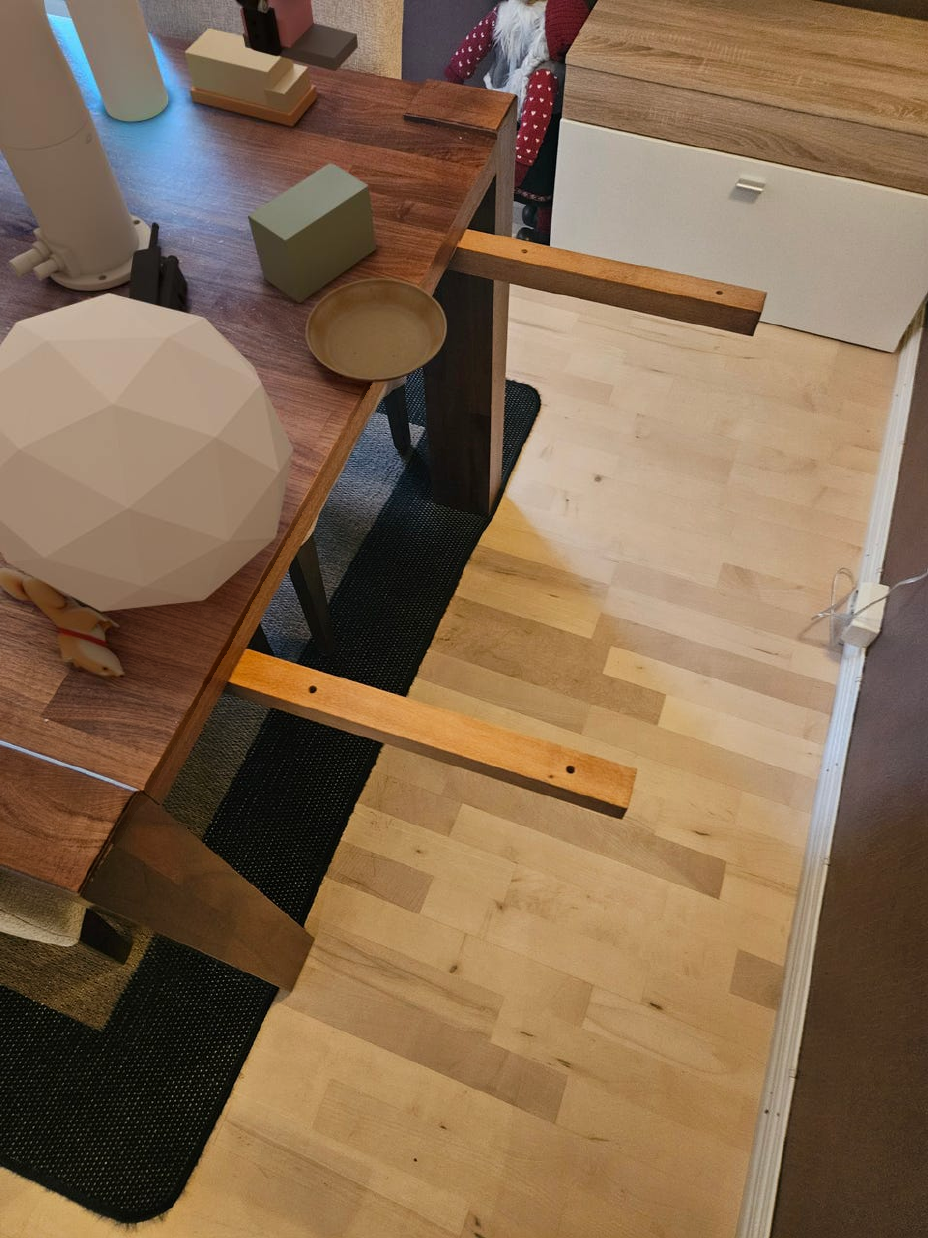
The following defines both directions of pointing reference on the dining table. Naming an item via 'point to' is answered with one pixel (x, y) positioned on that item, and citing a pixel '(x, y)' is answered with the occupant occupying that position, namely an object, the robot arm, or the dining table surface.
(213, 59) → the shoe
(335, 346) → the plant saucer
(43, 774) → the dining table surface
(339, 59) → the grey and pink l-bracket
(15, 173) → the robot arm
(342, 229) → the rectangular block
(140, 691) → the dining table surface
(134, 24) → the cup
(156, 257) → the walkie-talkie
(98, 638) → the toy
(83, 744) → the dining table surface
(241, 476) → the geometric shape
